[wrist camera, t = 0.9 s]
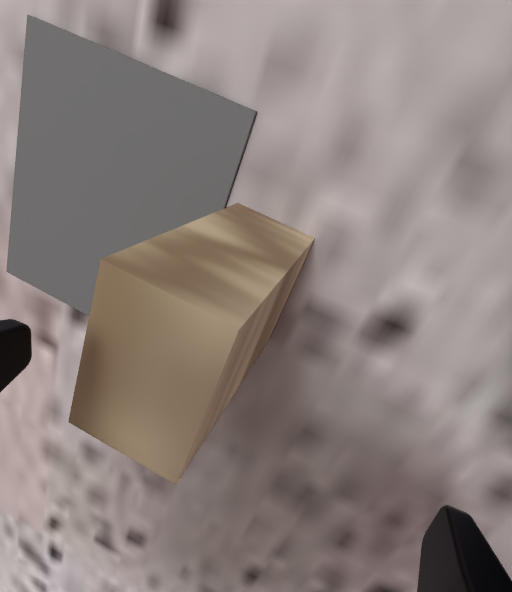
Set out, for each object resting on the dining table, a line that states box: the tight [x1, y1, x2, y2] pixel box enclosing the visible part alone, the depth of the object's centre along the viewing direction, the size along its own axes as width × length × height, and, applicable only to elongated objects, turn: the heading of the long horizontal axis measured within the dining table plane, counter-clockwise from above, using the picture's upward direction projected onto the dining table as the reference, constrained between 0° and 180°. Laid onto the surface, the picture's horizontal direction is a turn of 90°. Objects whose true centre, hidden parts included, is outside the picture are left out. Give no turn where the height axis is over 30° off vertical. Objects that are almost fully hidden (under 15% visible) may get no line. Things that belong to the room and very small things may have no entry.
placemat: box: [7, 15, 257, 316], centre depth 21 cm, size 12×14×1 cm
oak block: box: [69, 203, 315, 485], centre depth 16 cm, size 4×6×10 cm, turn 159°
